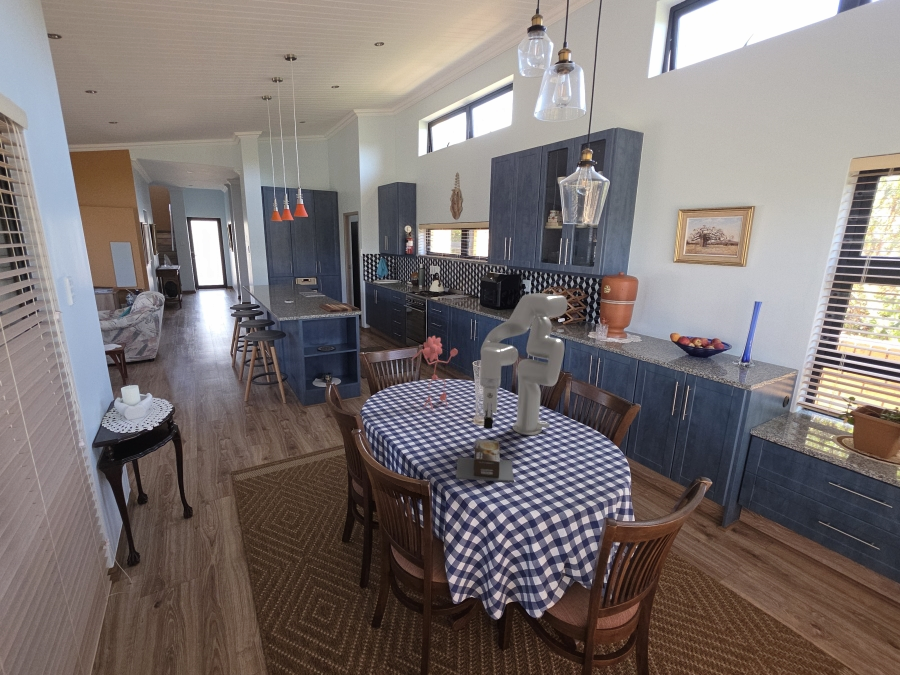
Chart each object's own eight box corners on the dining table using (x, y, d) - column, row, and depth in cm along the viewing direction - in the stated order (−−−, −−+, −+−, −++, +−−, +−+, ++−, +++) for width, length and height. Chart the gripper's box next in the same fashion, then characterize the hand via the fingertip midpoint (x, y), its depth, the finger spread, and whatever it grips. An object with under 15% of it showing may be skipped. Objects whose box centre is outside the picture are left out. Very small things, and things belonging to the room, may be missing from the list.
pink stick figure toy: (461, 402, 223) (461, 335, 215) (420, 414, 206) (419, 342, 199) (441, 394, 234) (441, 330, 227) (401, 405, 218) (400, 336, 210)
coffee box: (474, 454, 168) (472, 476, 152) (475, 439, 167) (473, 459, 151) (498, 456, 167) (498, 478, 152) (499, 440, 166) (499, 461, 150)
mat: (511, 461, 164) (511, 460, 164) (513, 481, 151) (514, 480, 150) (457, 458, 165) (457, 457, 165) (455, 478, 152) (455, 477, 152)
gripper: (501, 387, 153) (498, 436, 157) (499, 375, 168) (497, 420, 172) (479, 386, 154) (477, 435, 158) (480, 374, 168) (478, 419, 172)
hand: (488, 427), depth 165 cm, fingers closed
